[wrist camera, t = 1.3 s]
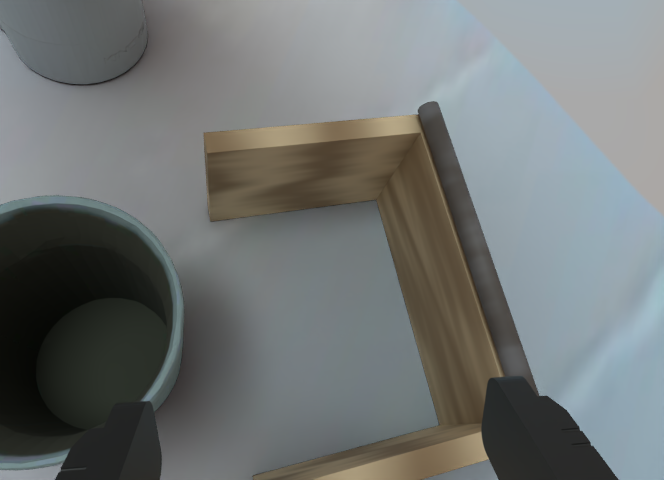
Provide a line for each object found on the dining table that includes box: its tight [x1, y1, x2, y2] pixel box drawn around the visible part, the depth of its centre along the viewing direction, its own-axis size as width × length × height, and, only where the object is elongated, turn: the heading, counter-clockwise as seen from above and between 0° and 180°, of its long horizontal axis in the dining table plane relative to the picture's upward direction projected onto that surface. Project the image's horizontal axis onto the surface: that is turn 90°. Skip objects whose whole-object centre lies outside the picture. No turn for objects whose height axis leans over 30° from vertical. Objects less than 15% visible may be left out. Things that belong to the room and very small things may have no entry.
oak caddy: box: [204, 101, 539, 480], centre depth 28 cm, size 13×18×10 cm
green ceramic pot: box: [0, 195, 184, 470], centre depth 24 cm, size 10×10×12 cm
